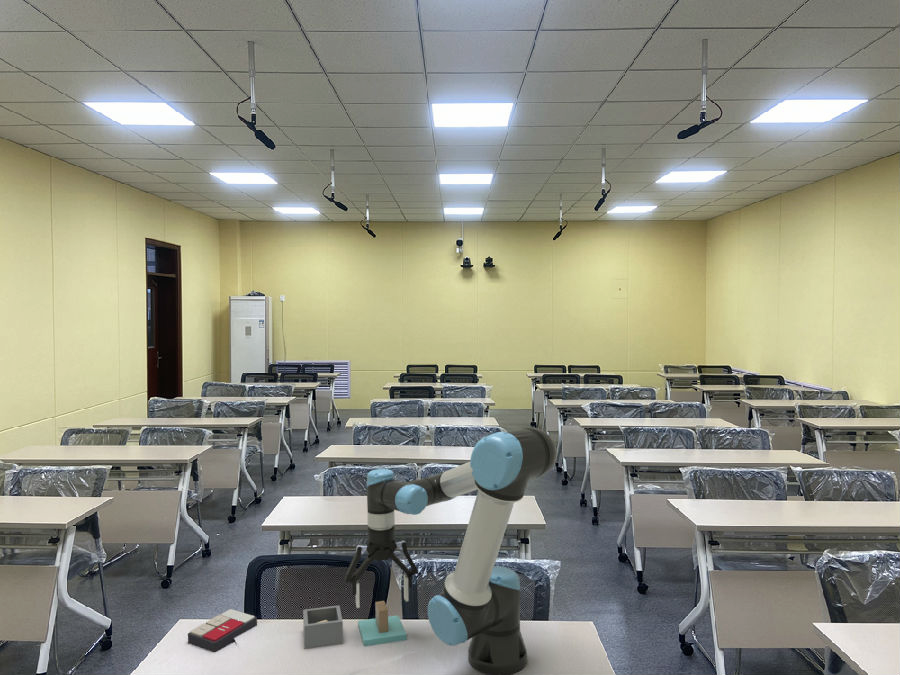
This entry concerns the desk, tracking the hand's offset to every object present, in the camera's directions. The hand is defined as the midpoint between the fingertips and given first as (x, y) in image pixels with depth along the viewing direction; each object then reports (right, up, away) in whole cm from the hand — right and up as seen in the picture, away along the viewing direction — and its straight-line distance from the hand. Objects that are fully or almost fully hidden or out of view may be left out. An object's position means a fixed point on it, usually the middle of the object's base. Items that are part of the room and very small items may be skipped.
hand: (382, 602), depth 168 cm
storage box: (-16, -10, -2) cm, 19 cm away
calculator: (-45, -10, +1) cm, 46 cm away
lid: (0, -10, 0) cm, 10 cm away
